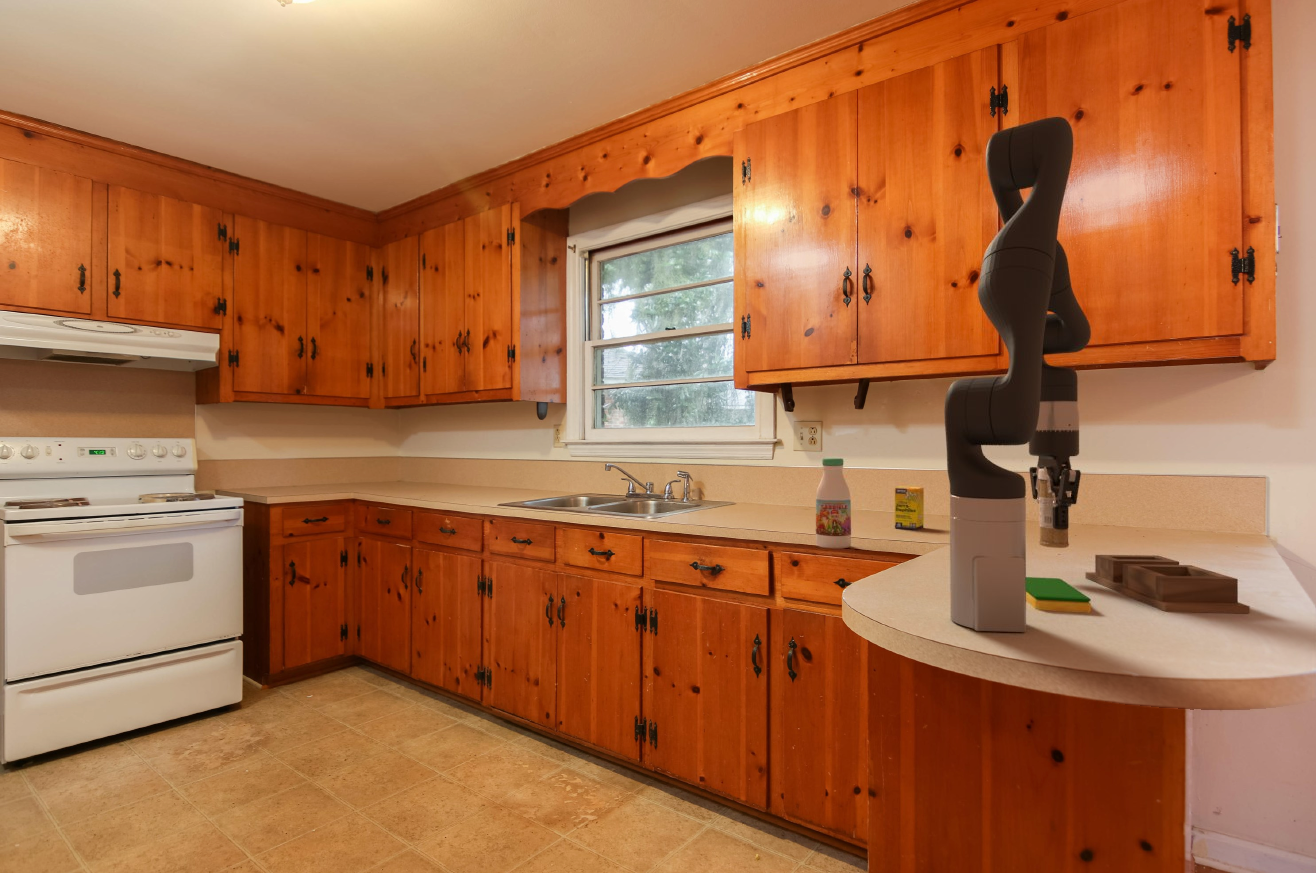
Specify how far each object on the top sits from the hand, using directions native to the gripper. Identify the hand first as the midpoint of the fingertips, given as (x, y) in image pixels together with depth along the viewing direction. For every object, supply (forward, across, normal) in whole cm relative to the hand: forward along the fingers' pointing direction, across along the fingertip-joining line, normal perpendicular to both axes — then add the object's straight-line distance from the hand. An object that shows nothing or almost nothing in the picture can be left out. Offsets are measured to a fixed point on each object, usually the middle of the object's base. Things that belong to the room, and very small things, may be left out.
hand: (1053, 526), depth 116 cm
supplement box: (+9, +62, +9) cm, 64 cm away
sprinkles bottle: (+4, 0, 0) cm, 4 cm away
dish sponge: (+10, -14, +7) cm, 18 cm away
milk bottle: (+9, +32, +33) cm, 47 cm away
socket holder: (+9, -9, -12) cm, 17 cm away
